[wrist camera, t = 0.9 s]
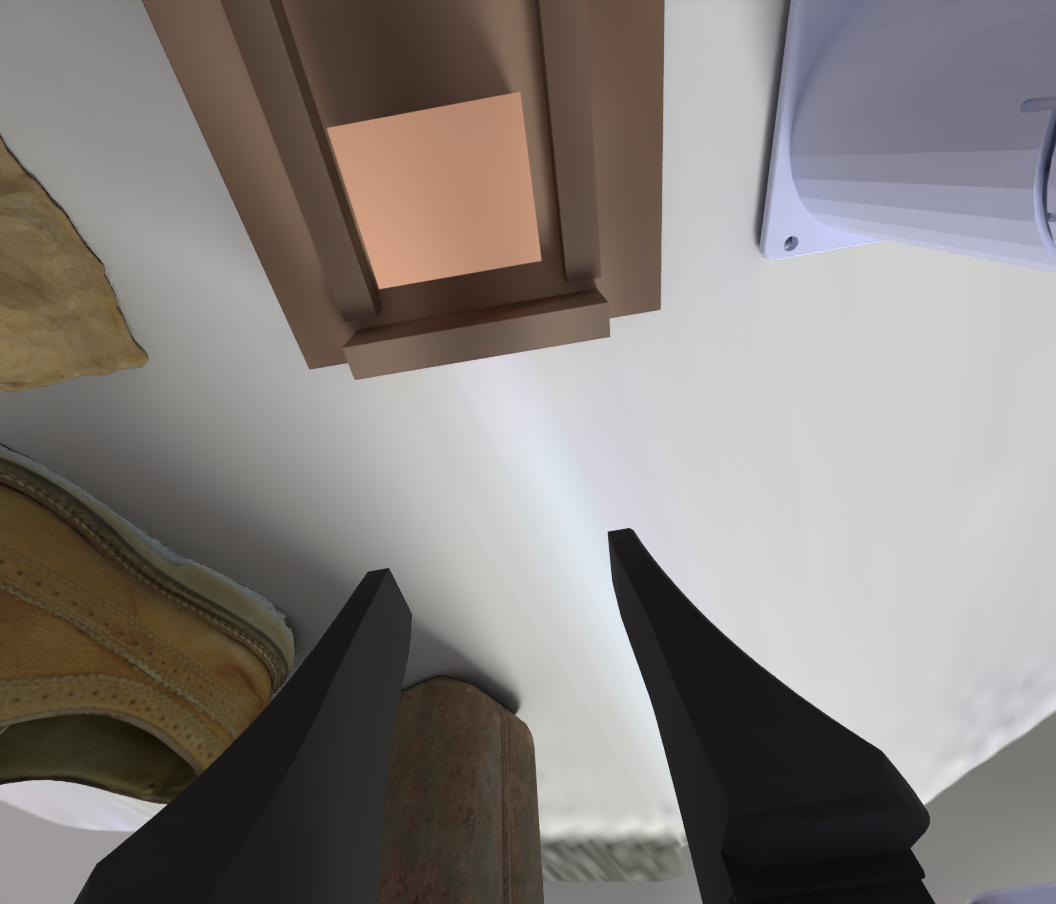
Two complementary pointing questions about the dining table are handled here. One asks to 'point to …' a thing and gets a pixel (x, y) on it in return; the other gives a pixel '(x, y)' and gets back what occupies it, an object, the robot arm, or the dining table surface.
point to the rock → (52, 294)
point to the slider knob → (441, 189)
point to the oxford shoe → (119, 646)
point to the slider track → (418, 84)
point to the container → (459, 802)
